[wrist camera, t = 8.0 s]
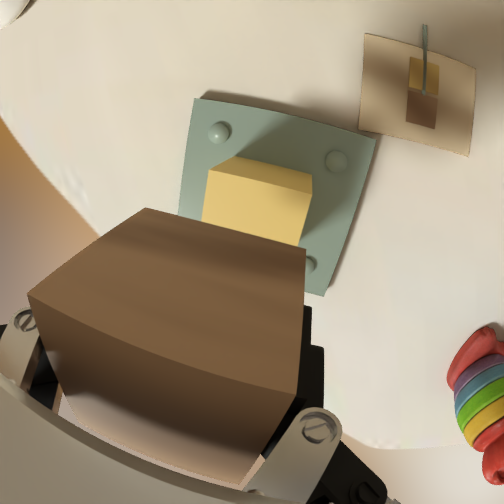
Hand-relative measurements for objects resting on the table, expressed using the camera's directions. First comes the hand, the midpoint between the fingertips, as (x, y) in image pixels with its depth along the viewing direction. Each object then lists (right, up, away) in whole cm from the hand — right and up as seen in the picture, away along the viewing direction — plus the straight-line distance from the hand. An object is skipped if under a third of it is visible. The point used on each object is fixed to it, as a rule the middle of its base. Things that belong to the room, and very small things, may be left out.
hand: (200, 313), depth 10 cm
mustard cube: (+3, +6, +12) cm, 14 cm away
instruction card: (+15, +15, +6) cm, 22 cm away
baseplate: (+3, +7, +13) cm, 15 cm away
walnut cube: (0, 0, +1) cm, 1 cm away
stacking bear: (+31, -12, +17) cm, 37 cm away
